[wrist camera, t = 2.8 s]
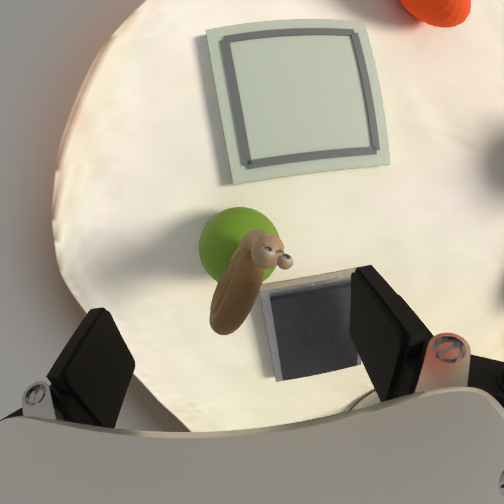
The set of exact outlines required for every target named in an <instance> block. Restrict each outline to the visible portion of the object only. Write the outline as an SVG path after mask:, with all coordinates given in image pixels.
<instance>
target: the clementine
mask: <svg viewBox="0 0 504 504" xmlns="http://www.w3.org/2000/svg"><path fill="white" fill-rule="evenodd" d="M399 1H400V2H401V4H402V5H403V6H404V8H405V9H406V10H407V11H408V12H409V13H411V14H412V15H413V16H415V17H416V18H417V19H419V20H421V21H423V22H425V23H427V24H429V25H433V26H437V27H454V26H457V25H459V24H461V23H462V22H464V21H465V20H466V18H467V16H468V15H469V13H470V7H471V0H399Z"/></svg>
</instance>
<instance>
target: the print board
mask: <svg viewBox="0 0 504 504" xmlns="http://www.w3.org/2000/svg"><path fill="white" fill-rule="evenodd" d="M206 35H207V41H208V46H209V52H210V58H211V63H212V69H213V75H214V80H215V86H216V91H217V97H218V102H219V108H220V114H221V119H222V125H223V130H224V136H225V141H226V147H227V152H228V158H229V163H230V168H231V174H232V179H233V185H234V184H239V183H245V182H251V181H257V180H263V179H270V178H276V177H283V176H290V175H297V174H305V173H313V172H321V171H329V170H339V169H348V168H359V167H370V166H383V165H390V154H389V144H388V135H387V127H386V120H385V113H384V107H383V101H382V95H381V90H380V84H379V80H378V75H377V70H376V66H375V61H374V57H373V53H372V49H371V45H370V41H369V38H368V34H367V31H366V27H365V24H364V22H359V21H347V20H329V19H294V20H275V21H263V22H253V23H245V24H238V25H231V26H225V27H219V28H214V29H209V30H206Z"/></svg>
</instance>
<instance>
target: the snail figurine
mask: <svg viewBox="0 0 504 504" xmlns="http://www.w3.org/2000/svg"><path fill="white" fill-rule="evenodd" d="M199 252H200V258H201V261H202V264H203V266H204V268H205V269H206V271H207V272H208V274H209V275H210V276H211V277H212V278H213V279H214V280H216V281H217V282H218V284H217V287H216V290H215V292H214V296H213V299H212V303H211V308H210V311H211V312H210V325H211V328H212V329H213V330H214V331H215V332H216V333H218V334H220V335H228V334H231V333H233V332H234V331H235V330H237V329H238V328H239V327H240V326H241V324H242V323H243V322H244V320H245V319H246V317H247V316H248V314H249V312H250V310H251V308H252V306H253V304H254V302H255V300H256V298H257V295H258V293H259V290H260V287H261V284H262V282H263V281H264V280H265V279H267V278H268V277H269V276H270V275H271V273H272V272H273V271H274V269H275V267H276V266H277V264H278V266H279V267H280V268H281V269H289V268H290V267H291V266H292V264H293V259H292V257H291V256H289V255H288V254H284V245H283V243H282V241H281V240H280V239H279V235H278V232H277V230H276V228H275V227H274V225H273V224H272V222H271V221H270V220H269V219H268V218H267V217H266V216H264V215H263V214H262V213H260V212H258V211H256V210H253V209H250V208H245V207H235V208H230V209H227V210H224V211H222V212H220V213H218V214H217V215H215V216H214V217H213V218H212V219H211V220H210V221H209V222H208V223H207V225H206V226H205V228H204V230H203V232H202V235H201V238H200V244H199Z"/></svg>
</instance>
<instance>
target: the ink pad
mask: <svg viewBox="0 0 504 504" xmlns="http://www.w3.org/2000/svg"><path fill="white" fill-rule="evenodd" d="M355 269H356V268H353V269H348V270H343V271H337V272H332V273H326V274H321V275H315V276H310V277H304V278H298V279H293V280H287V281H281V282H275V283H269V284H263V285H261V287H260V295H261V300H262V306H263V312H264V317H265V323H266V328H267V334H268V340H269V345H270V351H271V356H272V362H273V368H274V373H275V379H276V382H278V381H284V380H290V379H296V378H301V377H307V376H312V375H317V374H322V373H327V372H331V371H336V370H340V369H344V368H348V367H352V366H356V365H360V364H361V358H360V356H359V354H358V352H357V350H356V348H355V346H354V344H353V341H352V339H351V337H350V331H349V327H350V301H351V273H353V272H355Z"/></svg>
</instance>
